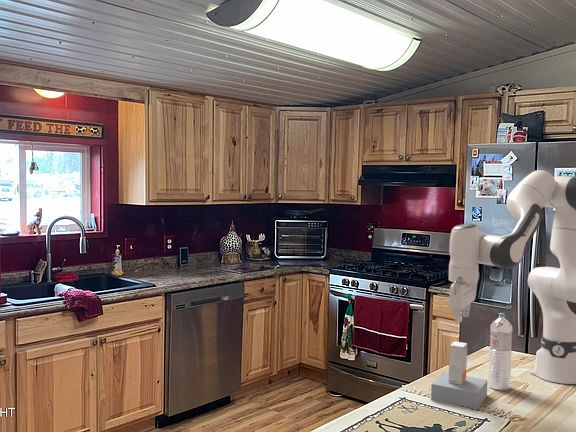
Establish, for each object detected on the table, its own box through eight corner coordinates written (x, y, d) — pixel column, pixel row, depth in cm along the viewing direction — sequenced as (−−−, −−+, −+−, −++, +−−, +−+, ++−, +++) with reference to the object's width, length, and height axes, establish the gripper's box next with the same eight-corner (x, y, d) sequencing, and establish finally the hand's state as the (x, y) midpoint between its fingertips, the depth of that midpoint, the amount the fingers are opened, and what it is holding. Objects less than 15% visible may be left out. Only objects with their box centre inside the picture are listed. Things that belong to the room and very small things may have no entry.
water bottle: (512, 392, 178) (514, 316, 177) (490, 390, 180) (492, 315, 179) (508, 385, 185) (510, 312, 184) (486, 383, 186) (489, 310, 185)
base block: (443, 386, 182) (443, 371, 182) (486, 395, 175) (487, 380, 175) (431, 399, 170) (431, 383, 170) (477, 409, 163) (477, 393, 163)
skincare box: (461, 385, 169) (463, 347, 168) (448, 382, 171) (449, 345, 171) (466, 380, 174) (467, 343, 174) (453, 377, 176) (454, 340, 176)
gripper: (465, 280, 160) (464, 327, 161) (480, 272, 178) (479, 314, 178) (444, 278, 164) (443, 324, 164) (460, 271, 181) (459, 312, 182)
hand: (462, 319), depth 171 cm, fingers open, 8 cm apart
